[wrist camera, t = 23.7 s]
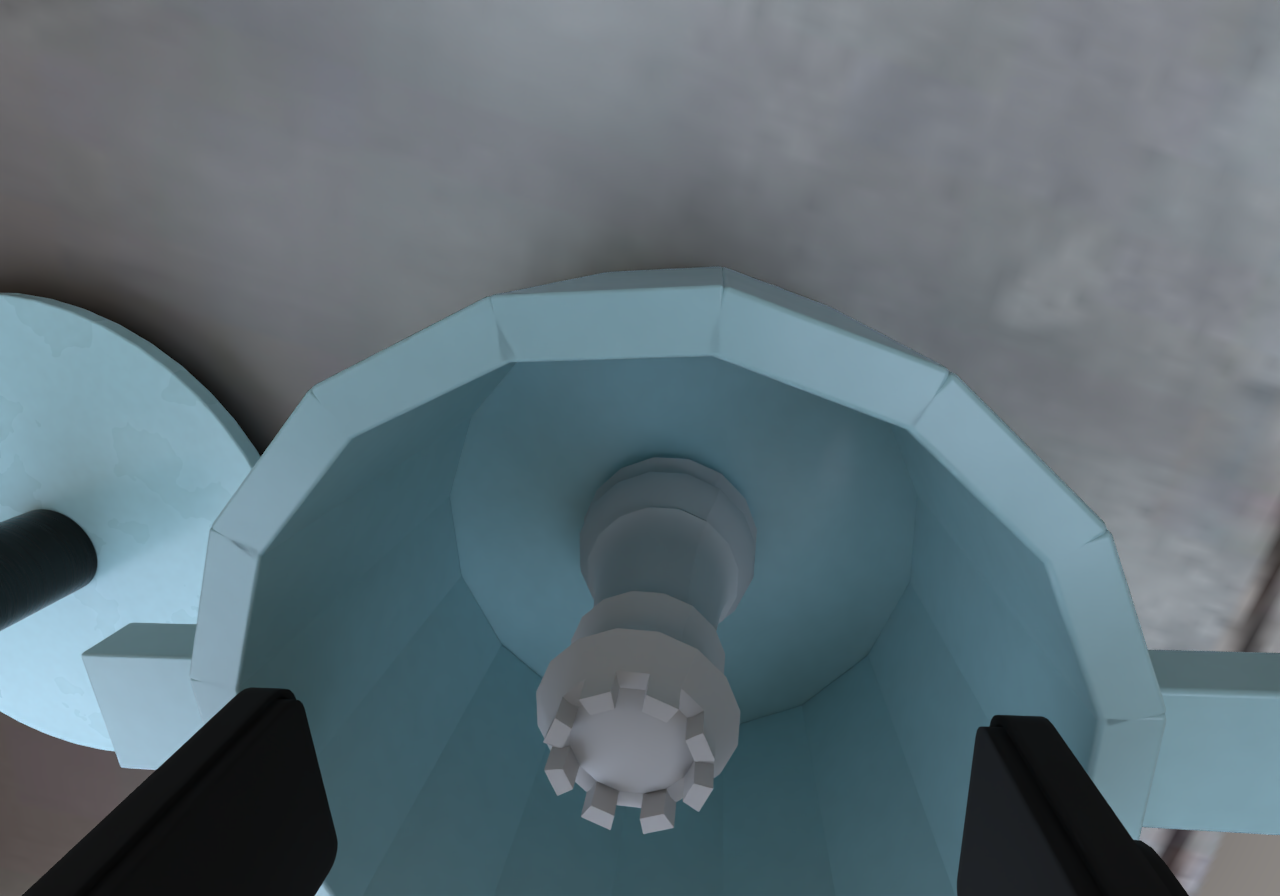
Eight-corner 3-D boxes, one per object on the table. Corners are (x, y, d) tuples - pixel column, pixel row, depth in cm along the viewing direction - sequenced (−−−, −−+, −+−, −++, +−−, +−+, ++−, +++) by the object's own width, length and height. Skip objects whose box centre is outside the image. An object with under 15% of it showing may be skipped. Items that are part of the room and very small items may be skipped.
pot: (300, 286, 17) (-102, 322, 8) (1095, 246, 14) (1600, 244, 6) (386, 722, 20) (170, 1029, 12) (1019, 751, 18) (1261, 1158, 10)
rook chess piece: (649, 416, 16) (582, 568, 8) (792, 517, 16) (855, 753, 9) (555, 545, 17) (425, 776, 10) (689, 635, 18) (664, 927, 10)
